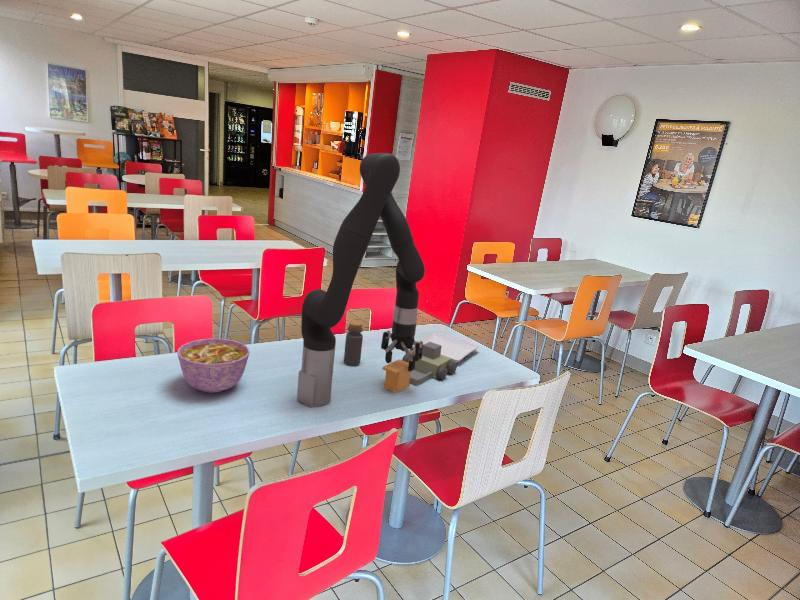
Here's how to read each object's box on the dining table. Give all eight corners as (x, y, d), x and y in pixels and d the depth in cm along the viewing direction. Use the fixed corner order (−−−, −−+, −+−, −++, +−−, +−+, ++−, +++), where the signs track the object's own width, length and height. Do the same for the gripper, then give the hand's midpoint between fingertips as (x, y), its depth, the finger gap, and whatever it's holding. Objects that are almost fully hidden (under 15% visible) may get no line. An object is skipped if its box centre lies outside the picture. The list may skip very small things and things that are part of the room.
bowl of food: (239, 369, 172) (240, 336, 169) (255, 397, 155) (257, 360, 152) (172, 376, 162) (172, 340, 159) (182, 406, 145) (182, 367, 142)
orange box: (392, 395, 168) (395, 371, 165) (379, 389, 170) (382, 366, 168) (408, 386, 175) (411, 363, 173) (396, 381, 178) (399, 359, 176)
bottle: (352, 367, 184) (356, 326, 180) (340, 362, 188) (343, 322, 183) (363, 363, 189) (367, 323, 185) (351, 358, 192) (355, 319, 188)
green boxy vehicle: (426, 389, 174) (430, 364, 172) (386, 374, 182) (389, 349, 180) (455, 372, 191) (459, 349, 189) (417, 358, 199) (420, 336, 197)
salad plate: (457, 368, 196) (459, 359, 195) (407, 352, 206) (408, 343, 205) (478, 353, 214) (480, 345, 213) (432, 338, 224) (433, 331, 223)
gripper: (379, 316, 168) (374, 363, 173) (417, 328, 161) (411, 377, 166) (392, 311, 174) (387, 357, 179) (430, 322, 167) (424, 370, 172)
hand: (399, 366), depth 172 cm, fingers open, 8 cm apart
